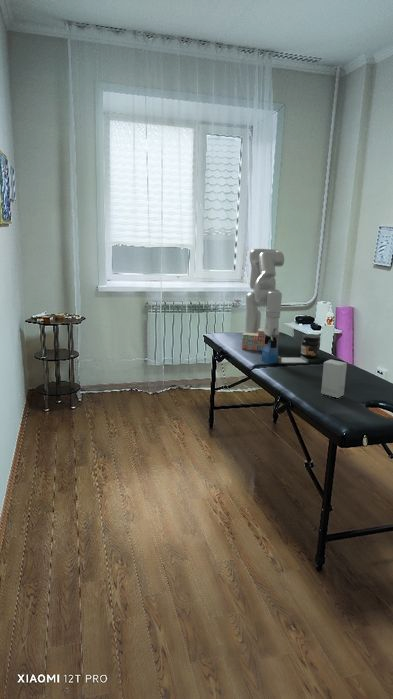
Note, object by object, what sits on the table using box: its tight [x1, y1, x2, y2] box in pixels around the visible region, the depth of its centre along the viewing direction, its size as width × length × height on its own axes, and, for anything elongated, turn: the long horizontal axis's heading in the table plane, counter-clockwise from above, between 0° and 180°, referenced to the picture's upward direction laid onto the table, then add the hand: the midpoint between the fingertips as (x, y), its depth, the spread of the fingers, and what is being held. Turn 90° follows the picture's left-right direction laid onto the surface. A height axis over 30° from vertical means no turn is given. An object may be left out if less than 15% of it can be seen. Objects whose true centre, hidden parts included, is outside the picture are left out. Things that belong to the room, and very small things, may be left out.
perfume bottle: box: [261, 340, 279, 365], centre depth 250 cm, size 6×6×12 cm
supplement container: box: [300, 333, 321, 359], centre depth 264 cm, size 10×10×12 cm
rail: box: [278, 355, 283, 364], centre depth 253 cm, size 10×1×3 cm, turn 10°
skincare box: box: [320, 359, 348, 399], centre depth 201 cm, size 8×7×16 cm
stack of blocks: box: [241, 328, 280, 352], centre depth 274 cm, size 21×6×12 cm, turn 84°
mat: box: [280, 355, 309, 364], centre depth 254 cm, size 9×16×2 cm, turn 100°
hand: (270, 345), depth 248 cm, fingers open, 9 cm apart
